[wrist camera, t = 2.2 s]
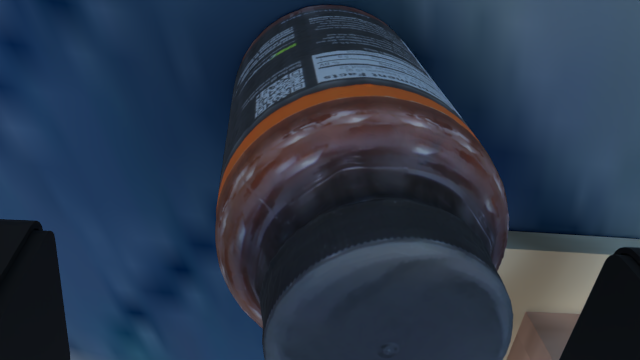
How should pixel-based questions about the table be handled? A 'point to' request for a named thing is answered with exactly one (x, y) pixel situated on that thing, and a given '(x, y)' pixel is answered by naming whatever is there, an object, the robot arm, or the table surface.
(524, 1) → the table surface
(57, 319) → the robot arm
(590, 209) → the table surface
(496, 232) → the supplement bottle
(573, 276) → the bottle holder
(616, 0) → the table surface
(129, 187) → the table surface
